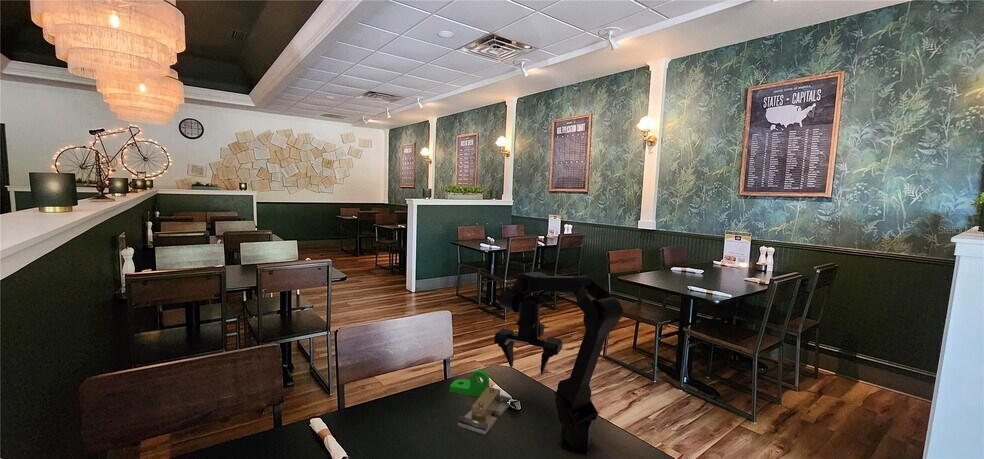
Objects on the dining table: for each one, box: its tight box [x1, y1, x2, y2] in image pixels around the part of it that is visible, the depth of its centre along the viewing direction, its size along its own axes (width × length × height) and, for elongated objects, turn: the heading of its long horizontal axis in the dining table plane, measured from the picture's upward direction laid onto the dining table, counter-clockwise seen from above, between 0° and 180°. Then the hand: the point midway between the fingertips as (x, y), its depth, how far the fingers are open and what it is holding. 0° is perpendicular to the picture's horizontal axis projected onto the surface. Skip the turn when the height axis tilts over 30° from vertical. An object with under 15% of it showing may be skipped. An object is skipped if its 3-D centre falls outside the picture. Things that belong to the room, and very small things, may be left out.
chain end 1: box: [457, 409, 498, 435], centre depth 111 cm, size 8×7×2 cm
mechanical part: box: [449, 368, 490, 398], centre depth 129 cm, size 12×6×8 cm, turn 75°
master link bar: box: [471, 387, 501, 423], centre depth 115 cm, size 4×12×5 cm, turn 160°
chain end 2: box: [492, 394, 512, 416], centre depth 120 cm, size 8×7×2 cm
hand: (526, 370), depth 117 cm, fingers open, 9 cm apart
